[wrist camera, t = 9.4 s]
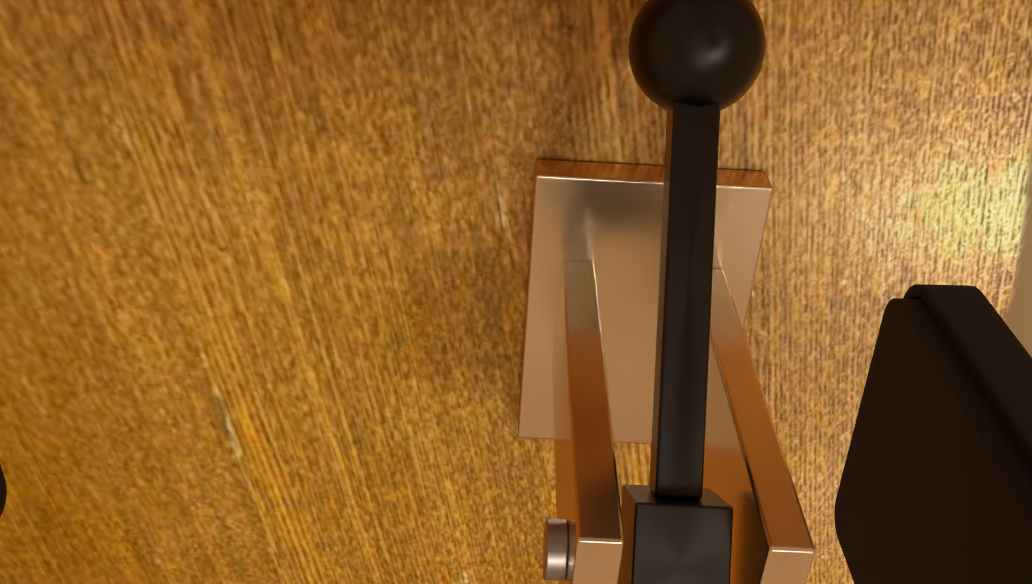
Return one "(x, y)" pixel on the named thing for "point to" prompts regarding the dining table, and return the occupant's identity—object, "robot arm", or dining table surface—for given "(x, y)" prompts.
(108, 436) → the dining table surface
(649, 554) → the switch lever
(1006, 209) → the dining table surface
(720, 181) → the switch bracket
